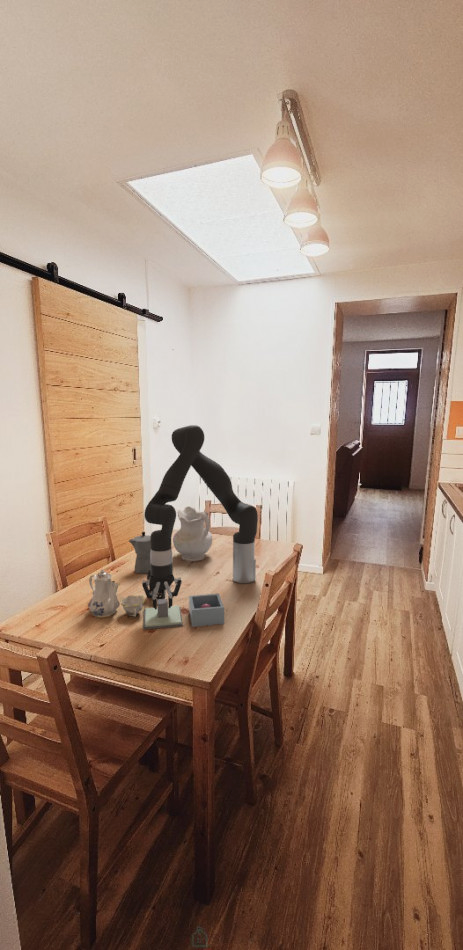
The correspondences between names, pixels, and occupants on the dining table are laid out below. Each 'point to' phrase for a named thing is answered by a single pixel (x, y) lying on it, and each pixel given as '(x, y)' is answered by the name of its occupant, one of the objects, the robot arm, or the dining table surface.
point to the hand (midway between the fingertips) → (162, 607)
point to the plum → (205, 606)
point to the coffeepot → (142, 553)
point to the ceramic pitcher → (192, 534)
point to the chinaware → (110, 597)
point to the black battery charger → (160, 594)
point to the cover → (162, 614)
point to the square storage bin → (206, 610)
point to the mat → (162, 626)
